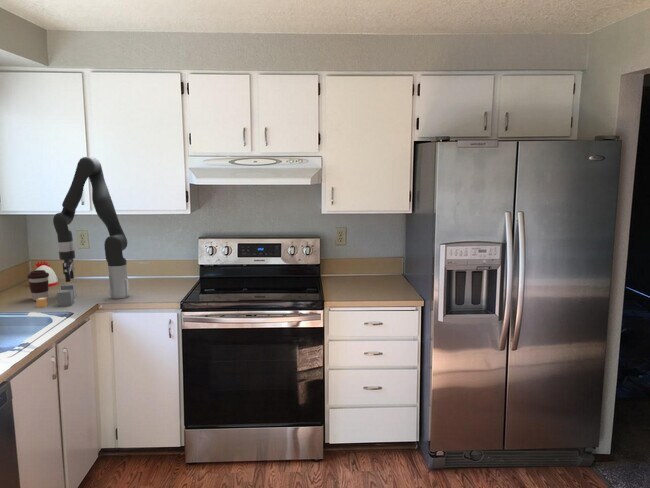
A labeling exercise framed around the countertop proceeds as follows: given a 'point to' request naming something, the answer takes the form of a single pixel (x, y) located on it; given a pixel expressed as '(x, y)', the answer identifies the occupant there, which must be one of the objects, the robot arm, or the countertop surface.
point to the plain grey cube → (69, 287)
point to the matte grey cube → (65, 298)
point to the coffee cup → (38, 284)
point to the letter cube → (42, 302)
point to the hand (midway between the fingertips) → (70, 280)
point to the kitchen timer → (52, 276)
